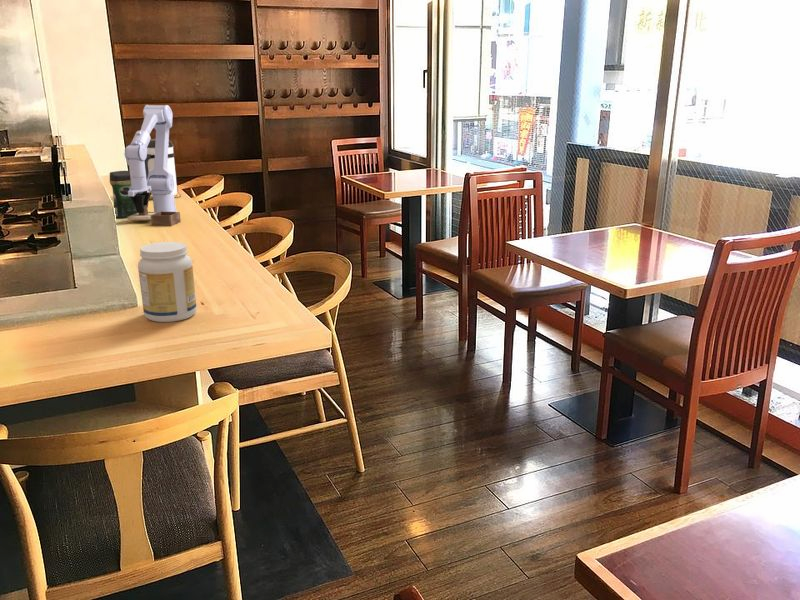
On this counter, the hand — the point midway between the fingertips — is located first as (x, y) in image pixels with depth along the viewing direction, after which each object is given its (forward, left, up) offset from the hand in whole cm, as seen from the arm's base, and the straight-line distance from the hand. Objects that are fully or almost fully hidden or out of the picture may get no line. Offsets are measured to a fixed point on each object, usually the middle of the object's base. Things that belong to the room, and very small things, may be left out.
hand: (142, 211), depth 265 cm
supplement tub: (+102, +60, -4) cm, 118 cm away
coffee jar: (-11, -13, -4) cm, 18 cm away
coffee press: (-54, -18, -4) cm, 57 cm away
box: (+3, +11, -4) cm, 12 cm away
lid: (0, 0, -2) cm, 2 cm away
